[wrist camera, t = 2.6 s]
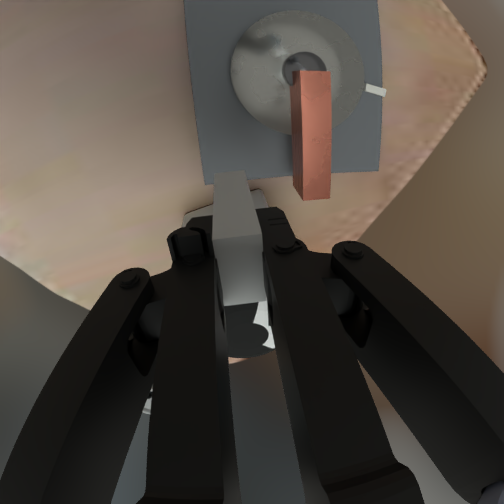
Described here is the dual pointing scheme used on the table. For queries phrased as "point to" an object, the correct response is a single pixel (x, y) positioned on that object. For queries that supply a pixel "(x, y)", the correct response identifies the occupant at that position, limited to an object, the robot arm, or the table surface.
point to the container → (244, 308)
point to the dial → (299, 87)
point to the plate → (242, 122)
